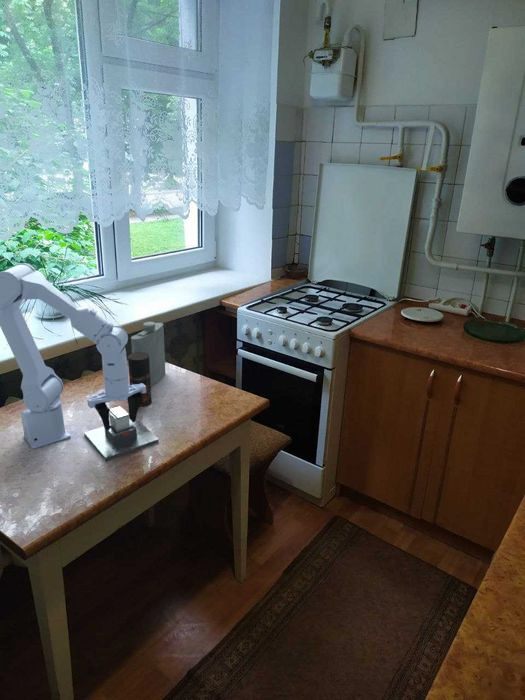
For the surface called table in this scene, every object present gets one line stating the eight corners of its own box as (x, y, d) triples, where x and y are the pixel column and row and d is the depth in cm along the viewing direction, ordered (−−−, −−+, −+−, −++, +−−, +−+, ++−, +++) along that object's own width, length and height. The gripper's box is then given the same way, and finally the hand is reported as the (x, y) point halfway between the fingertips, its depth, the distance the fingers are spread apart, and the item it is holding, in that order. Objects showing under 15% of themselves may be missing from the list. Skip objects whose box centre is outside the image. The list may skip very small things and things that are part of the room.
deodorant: (154, 398, 148) (151, 352, 143) (148, 408, 143) (145, 360, 137) (135, 397, 149) (131, 351, 143) (128, 406, 143) (124, 359, 138)
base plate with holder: (105, 461, 118) (104, 448, 117) (84, 435, 128) (83, 424, 127) (158, 442, 127) (158, 430, 125) (134, 419, 137) (133, 408, 135)
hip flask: (158, 371, 167) (156, 314, 159) (169, 373, 166) (167, 316, 158) (132, 391, 153) (128, 330, 145) (144, 393, 152) (140, 332, 144)
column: (118, 442, 124) (116, 418, 122) (110, 433, 128) (107, 409, 125) (132, 437, 126) (130, 413, 124) (123, 429, 130) (121, 405, 127)
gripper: (92, 389, 114) (98, 440, 119) (150, 374, 122) (153, 422, 127) (81, 378, 119) (87, 427, 124) (137, 364, 127) (140, 411, 132)
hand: (120, 424), depth 126 cm, fingers open, 6 cm apart
